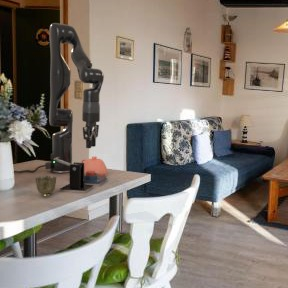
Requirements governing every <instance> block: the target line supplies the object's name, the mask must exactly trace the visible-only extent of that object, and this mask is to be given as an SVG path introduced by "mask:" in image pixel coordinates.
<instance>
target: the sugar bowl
mask: <svg viewBox="0 0 288 288" xmlns="http://www.w3.org/2000/svg"><path fill="white" fill-rule="evenodd" d="M80 163H84V174H85V173H86V172H87V171H95V173H97V174H99V176H105V175H106V174H107V173H108V169H107V165H106V163H105V162H104V160H103V159H102V158H98V156H91V158H83V159H82V160H81V161H80Z"/></svg>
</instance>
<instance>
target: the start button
mask: <svg viewBox="0 0 288 288" xmlns="http://www.w3.org/2000/svg"><path fill="white" fill-rule="evenodd" d="M86 175H87V176H93V175H95V171H87V172H86Z"/></svg>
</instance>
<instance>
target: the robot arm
mask: <svg viewBox="0 0 288 288" xmlns="http://www.w3.org/2000/svg"><path fill="white" fill-rule="evenodd" d="M48 35H49V48H50V73H49V75H50V76H49V78H50V79H49V80H50V81H49V83H50V85H49V86H50V96H49V97H50V98H49V99H50V100H49V112H48V113H49V115H48V119H49V120H48V121H49V125H50V126H51V127H64V128H63V129H62V130H60V131H57V132H55V133H53V134H52V153H50V160H49V161H46V162H44V164H41V165H39V166H37V167H35V169H33V170H32V169H31V170H30V169H22V170H14V172H13V173H16V174H21V173H26V172H28V173H36V172H37V171H38V170H39V169H41V168H44V167H45V170H50V172H51V173H55V174H68V173H70V166H68V165H65V164H62V163H60V162H57V161H54V162H52V161H51V159H53V158H55V157H59V158H60V160H63V161H65V162H68V163H70V164H73V124H74V123H73V122H74V112H73V110H72V109H71V108H58V105H59V103H60V101H61V99H62V98H63V96H64V95H65V93H66V92H67V91H68V89H69V88H70V86H71V81H72V71H71V68H70V66H69V64H68V62H67V61H66V59H65V58H64V56H63V53H62V50H61V44H65V45H70V46H71V52H70V58H71V60H72V63H73V64H74V66H75V67H76V69H77V73H78V78H79V80H80V81H81V82H82V83H83V84H89V85H90V84H92V85H91V87H89V88H85V89H83V92H82V116H81V118H82V119H81V120H82V122H85V126H83V127H82V136H83V140H84V141H85V148H86V149H92V147H93V148H94V147H95V148H96V145H97V138H98V137H99V130H100V125H99V124H97V123H99V122H101V104H100V93H101V90H102V86H103V83H104V79H105V75H104V72H103V71H102V70H101V69H100V68H93V62H92V61H91V59H90V58H89V56H88V55H87V53H86V52H85V49H84V47H83V44H82V42H81V40H80V38H79V35H78V32H77V30H76V28H74V27H73V26H72V25H70V24H66V23H65V24H64V23H58V22H53V23H51V24H50V26H49V34H48Z"/></svg>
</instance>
